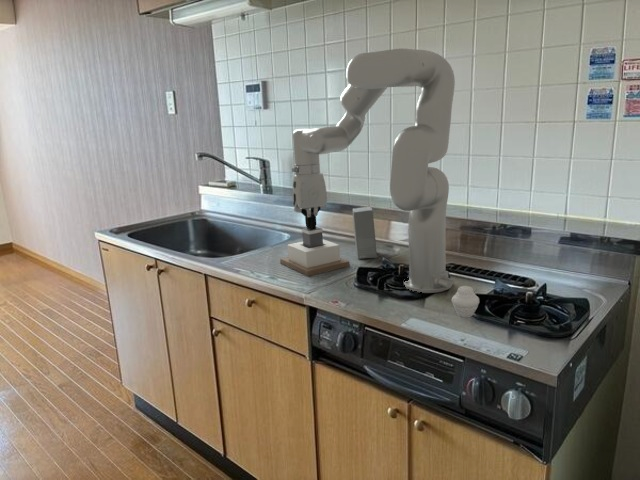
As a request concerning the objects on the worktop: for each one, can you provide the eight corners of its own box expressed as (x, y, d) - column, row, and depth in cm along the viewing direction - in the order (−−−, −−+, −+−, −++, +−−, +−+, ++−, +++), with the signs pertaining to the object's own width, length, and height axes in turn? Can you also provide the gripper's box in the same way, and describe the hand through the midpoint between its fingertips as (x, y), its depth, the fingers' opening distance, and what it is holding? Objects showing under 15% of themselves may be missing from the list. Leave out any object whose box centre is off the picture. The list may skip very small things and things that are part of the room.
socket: (349, 265, 158) (348, 245, 157) (307, 276, 151) (306, 255, 149) (319, 254, 173) (318, 235, 172) (280, 262, 166) (278, 243, 164)
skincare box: (377, 258, 164) (375, 210, 160) (355, 259, 164) (353, 211, 161) (375, 251, 172) (373, 205, 168) (354, 252, 173) (351, 206, 169)
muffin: (465, 307, 120) (466, 279, 119) (485, 315, 115) (485, 286, 114) (445, 313, 118) (445, 285, 116) (464, 322, 112) (464, 292, 111)
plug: (324, 256, 161) (322, 228, 158) (311, 259, 158) (309, 231, 156) (316, 253, 165) (314, 226, 162) (303, 255, 162) (301, 228, 160)
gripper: (291, 173, 148) (296, 234, 153) (334, 168, 155) (337, 226, 160) (280, 171, 154) (284, 230, 159) (322, 166, 162) (325, 222, 166)
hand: (311, 228), depth 159 cm, fingers closed
